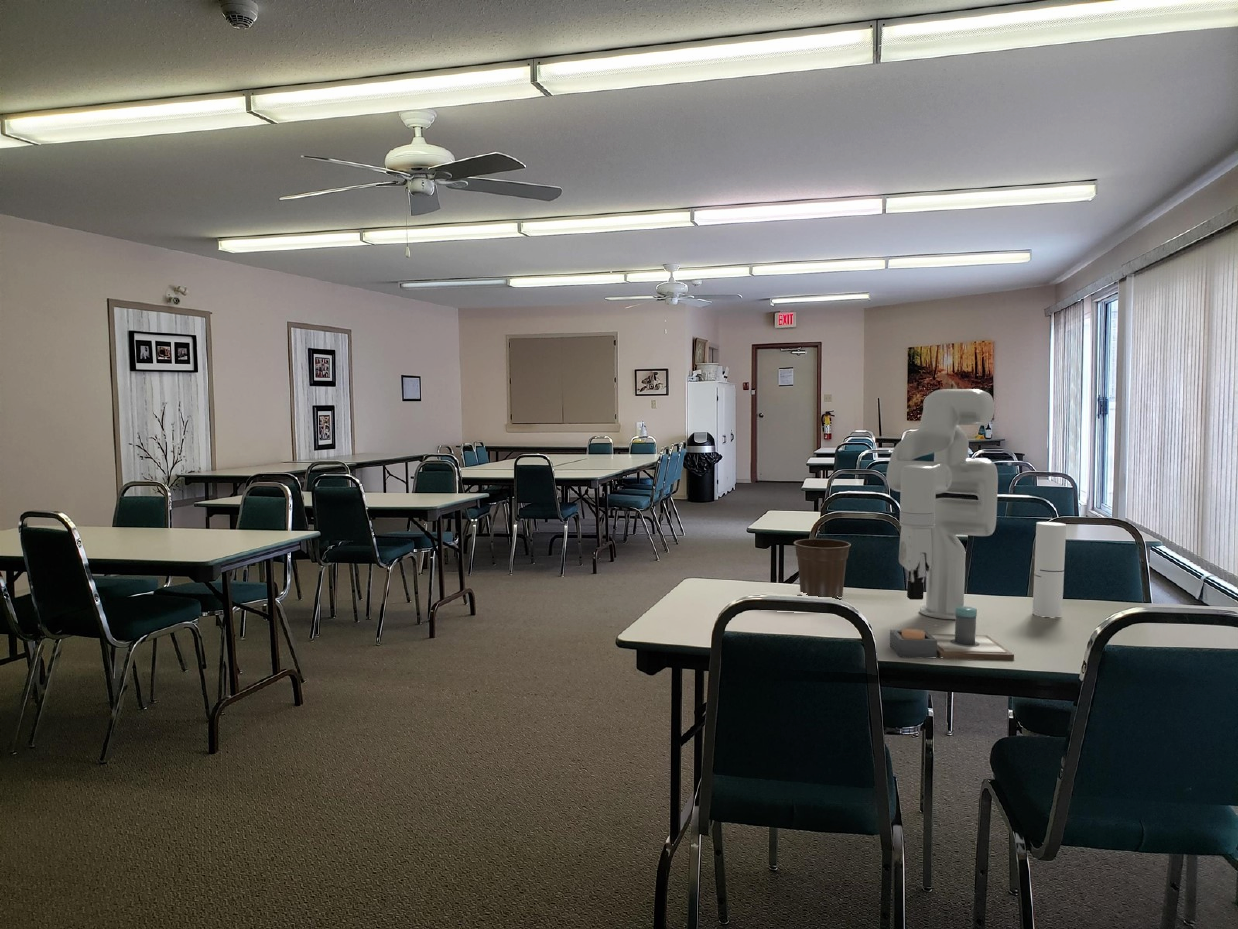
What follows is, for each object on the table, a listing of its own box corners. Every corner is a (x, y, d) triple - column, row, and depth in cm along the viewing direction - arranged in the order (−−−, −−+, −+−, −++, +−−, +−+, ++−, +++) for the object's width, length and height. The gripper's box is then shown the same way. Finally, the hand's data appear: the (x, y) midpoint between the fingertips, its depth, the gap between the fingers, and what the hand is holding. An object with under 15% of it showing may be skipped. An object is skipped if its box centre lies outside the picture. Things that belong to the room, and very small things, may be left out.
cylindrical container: (1054, 619, 223) (1059, 526, 221) (1027, 614, 228) (1031, 523, 226) (1066, 615, 227) (1070, 524, 225) (1039, 610, 233) (1043, 521, 231)
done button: (898, 643, 194) (899, 628, 194) (920, 643, 194) (921, 628, 194) (904, 649, 189) (905, 634, 189) (927, 649, 189) (927, 634, 189)
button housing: (889, 646, 196) (890, 629, 196) (925, 647, 195) (925, 630, 195) (899, 657, 188) (899, 639, 187) (936, 658, 187) (937, 640, 187)
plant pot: (800, 603, 239) (801, 547, 237) (786, 590, 255) (788, 538, 254) (856, 603, 239) (858, 547, 238) (839, 590, 255) (841, 538, 254)
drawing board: (919, 638, 203) (919, 632, 203) (986, 640, 202) (986, 634, 202) (940, 658, 187) (940, 651, 187) (1013, 660, 186) (1014, 653, 186)
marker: (951, 639, 197) (952, 606, 197) (971, 640, 197) (972, 606, 196) (958, 645, 193) (959, 610, 192) (978, 645, 192) (979, 611, 192)
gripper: (891, 514, 197) (889, 590, 199) (909, 525, 182) (907, 607, 184) (924, 514, 197) (922, 590, 199) (944, 525, 182) (942, 607, 184)
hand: (915, 598), depth 191 cm, fingers closed
